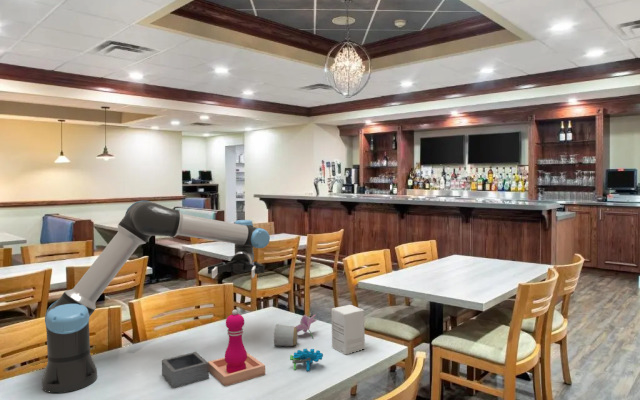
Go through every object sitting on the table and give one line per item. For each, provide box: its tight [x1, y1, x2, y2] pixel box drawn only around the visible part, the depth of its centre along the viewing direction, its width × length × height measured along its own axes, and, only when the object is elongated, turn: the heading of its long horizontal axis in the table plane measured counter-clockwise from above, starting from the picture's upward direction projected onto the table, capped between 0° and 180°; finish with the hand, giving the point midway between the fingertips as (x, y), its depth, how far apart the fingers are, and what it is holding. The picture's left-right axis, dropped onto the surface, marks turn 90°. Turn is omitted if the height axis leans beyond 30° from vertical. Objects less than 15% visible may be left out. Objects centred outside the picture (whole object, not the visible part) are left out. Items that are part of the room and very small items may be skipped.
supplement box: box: [330, 304, 366, 355], centre depth 166 cm, size 9×9×15 cm
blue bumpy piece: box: [289, 348, 324, 372], centre depth 150 cm, size 11×6×10 cm
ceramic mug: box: [273, 324, 298, 347], centre depth 172 cm, size 11×8×8 cm
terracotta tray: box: [207, 352, 266, 387], centre depth 148 cm, size 14×14×3 cm
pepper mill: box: [224, 309, 248, 373], centre depth 147 cm, size 7×7×20 cm
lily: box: [295, 313, 318, 339], centre depth 180 cm, size 12×12×10 cm
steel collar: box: [161, 351, 210, 389], centre depth 145 cm, size 11×11×5 cm
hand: (232, 274), depth 155 cm, fingers open, 13 cm apart
